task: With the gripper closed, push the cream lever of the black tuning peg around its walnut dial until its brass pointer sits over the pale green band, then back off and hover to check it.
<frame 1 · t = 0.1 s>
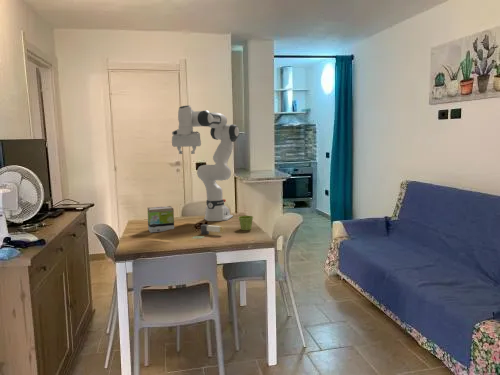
hand: (186, 153, 252), 48 cm above the table, tool pointing down, fingers open, 8 cm apart
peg: (212, 230, 235), point 4 cm above the table, hinge at 80.0°
plant pot: (246, 231, 247), on the table
tea box: (161, 230, 254), on the table
dial: (205, 235, 238), on the table
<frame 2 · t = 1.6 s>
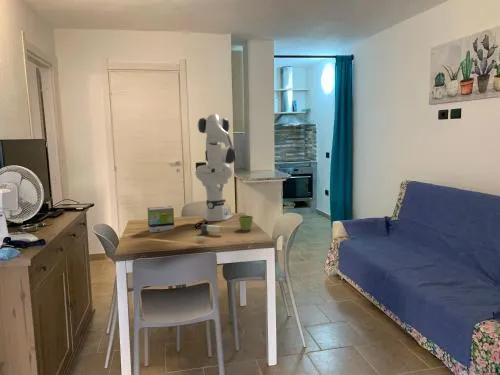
hand: (215, 192, 239), 25 cm above the table, tool pointing down, fingers open, 8 cm apart
nothing on the table moved.
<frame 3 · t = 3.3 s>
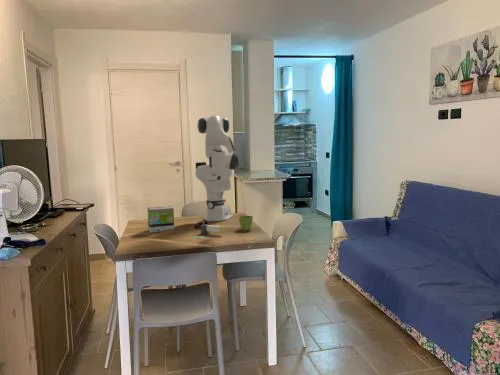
hand: (220, 199, 238), 21 cm above the table, tool pointing down, fingers closed
nothing on the table moved.
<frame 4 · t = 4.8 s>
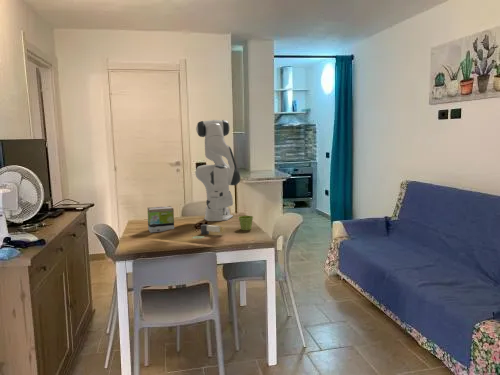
hand: (222, 215, 238), 12 cm above the table, tool pointing down, fingers closed
nothing on the table moved.
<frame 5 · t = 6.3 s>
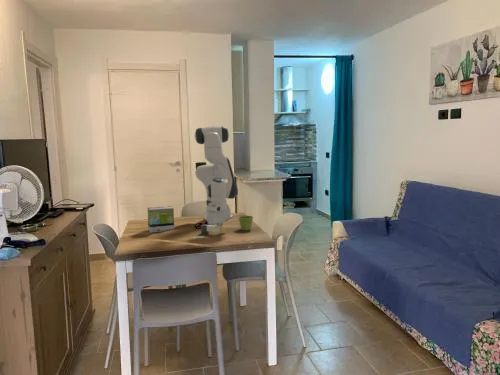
hand: (219, 229, 236), 4 cm above the table, tool pointing down, fingers closed
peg: (212, 230, 235), point 4 cm above the table, hinge at 80.0°, touching gripper
everything else where it was.
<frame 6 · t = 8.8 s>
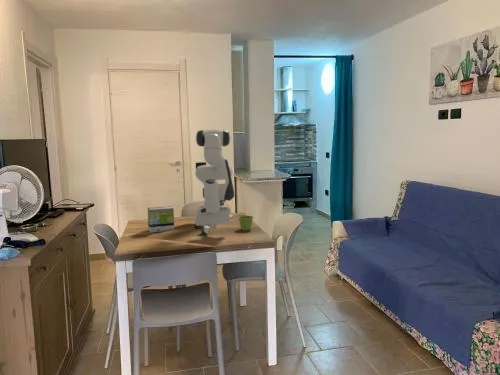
hand: (213, 231, 230), 4 cm above the table, tool pointing down, fingers closed
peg: (207, 231, 233), point 4 cm above the table, hinge at 38.4°, touching gripper
everything else where it was.
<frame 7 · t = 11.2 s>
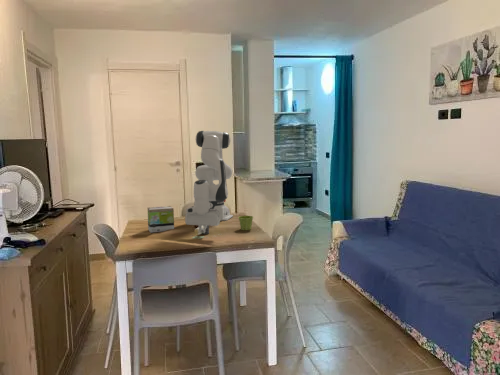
hand: (202, 232, 228), 4 cm above the table, tool pointing down, fingers closed
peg: (201, 231, 232), point 4 cm above the table, hinge at -0.4°, touching gripper
everything else where it was.
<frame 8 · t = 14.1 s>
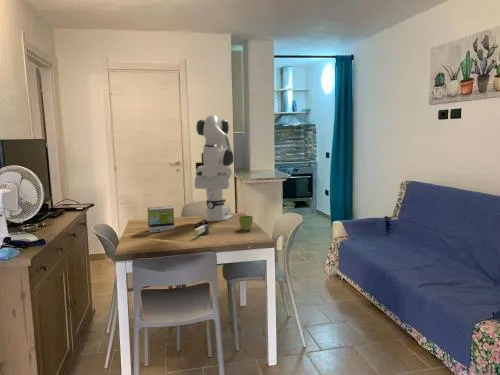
hand: (212, 196, 228), 24 cm above the table, tool pointing down, fingers closed
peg: (201, 231, 232), point 4 cm above the table, hinge at -0.6°
everything else where it was.
at the end: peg at -1° (first picture: +80°); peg touching nothing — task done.
